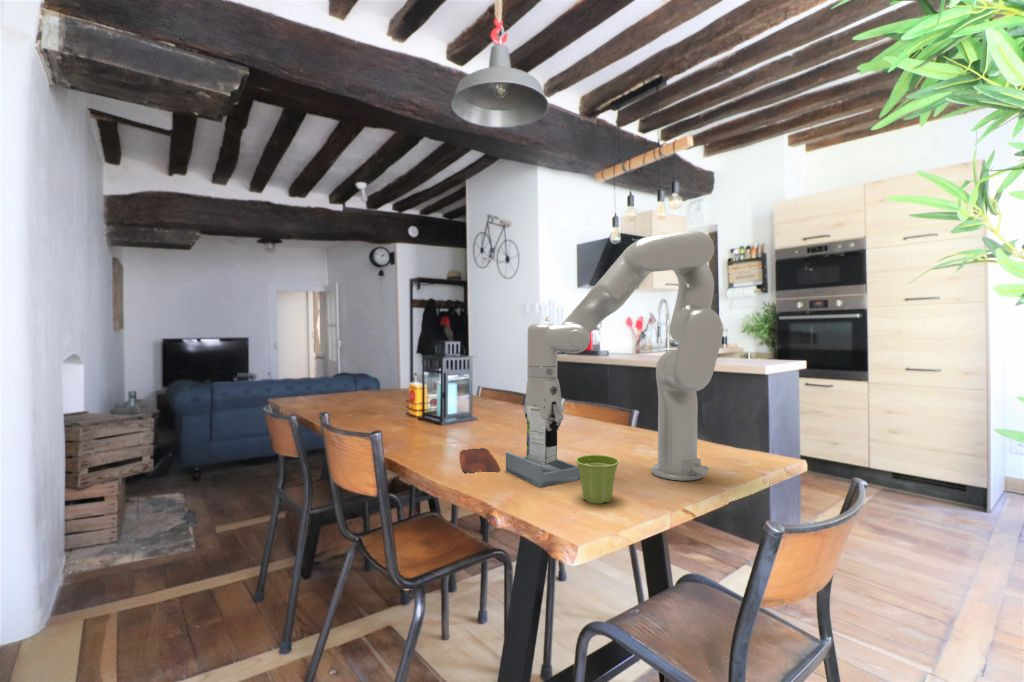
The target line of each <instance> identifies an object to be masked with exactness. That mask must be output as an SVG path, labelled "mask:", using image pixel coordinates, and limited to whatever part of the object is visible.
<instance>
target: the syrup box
mask: <svg viewBox="0 0 1024 682" xmlns="http://www.w3.org/2000/svg"><path fill="white" fill-rule="evenodd" d="M551 417H552V416H550V415H549V418H551ZM526 422H527V423H526V455H525V457H526V459H527V460H530V461H532V462H534V463H537V464H541V465H547V464H549V463H552V462H554V461H556V460H557V459H558V445H557V446H553V447H546V446H545V431H547V427H546V420H544V419H542V418H541V416H540V412H539V409H538V406H534V405H529V406H527V419H526ZM551 423H552V421H550V425H551Z"/></svg>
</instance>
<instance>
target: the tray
mask: <svg viewBox="0 0 1024 682" xmlns="http://www.w3.org/2000/svg"><path fill="white" fill-rule="evenodd" d="M506 471H507V472H506ZM505 472H506V473H508V472H509V473H508V474H510V473H511V474H510V475H512V474H513V476H514V475H515V476H514V477H516V476H517V478H519V477H520V478H519V479H521V480H523V479H524V480H523V481H525V480H526V481H525V482H527V481H528V482H527V483H529V484H531V483H532V485H533V484H534V485H533V486H535V485H536V487H538V488H545V487H549V485H550V486H554V484H555V485H560V484H564V482H565V483H569V481H570V482H575V481H579V480H580V481H581V478H580V471H579V469H578V465H575V464H572V463H569V462H567V461H564V460H561V459H559V458H557V460H556V461H554V462H552V463H549V464H547V465H541V464H537V463H534V462H532V461H530V460H527V459H526V456H524V457H523V456H520V455H517V454H515V453H512V452H510V451H506V452H505ZM559 483H560V484H559ZM544 486H545V487H544Z"/></svg>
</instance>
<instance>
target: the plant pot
mask: <svg viewBox="0 0 1024 682" xmlns="http://www.w3.org/2000/svg"><path fill="white" fill-rule="evenodd" d="M575 463H576V465H577V466H578V469H579V471H580V485H581V491H582V497H583V500H586V502H587V503H591V504H599V505H601V504H603V503H610V502H611V501H612V500H613V492H614V483H615V475H616V471H617V468H618V466H619V464H620V460H619V458H616V457H614V456H609V455H606V454H605V455H602V454H588V455H587V454H586V455H581V456H578V457H576V458H575Z"/></svg>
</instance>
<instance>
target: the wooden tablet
mask: <svg viewBox="0 0 1024 682" xmlns="http://www.w3.org/2000/svg"><path fill="white" fill-rule="evenodd" d="M467 449H468V450H465V449H461V450H462V451H461V452H460V451H459V452H460V456H459V458H460V465H461V470H462V471H463V473H464V474H467V473H468V474H476V473H475V472H477V473H479V472H478V471H481V472H480V473H482V472H496V473H499V472H501V469H500V468H501V467H500V465H499V463H498V462H497V460H496V458H495V457H494V455H493V454H492V453H491V451H489V450H488V449H487V448H486V449H485V447H480V449H477V448H467ZM490 453H491V454H492V455H491V454H490ZM494 458H495V459H494ZM498 471H499V472H498Z"/></svg>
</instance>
